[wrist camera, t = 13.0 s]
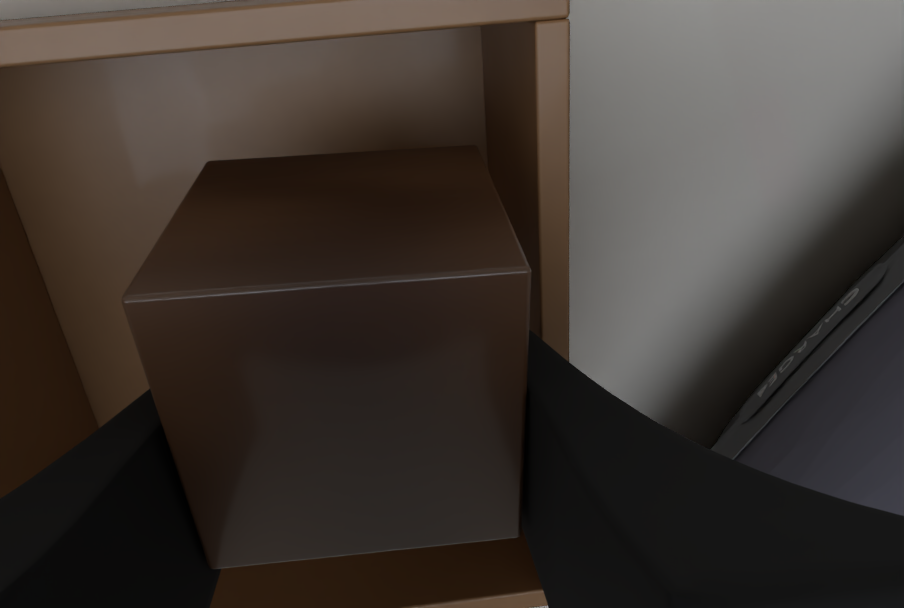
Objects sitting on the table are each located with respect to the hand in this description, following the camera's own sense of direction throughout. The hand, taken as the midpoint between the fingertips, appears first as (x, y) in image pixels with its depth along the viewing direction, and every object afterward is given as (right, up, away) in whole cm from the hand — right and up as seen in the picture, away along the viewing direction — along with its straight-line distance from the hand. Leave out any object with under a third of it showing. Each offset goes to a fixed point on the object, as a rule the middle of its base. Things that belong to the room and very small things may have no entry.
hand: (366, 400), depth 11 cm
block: (0, +2, +1) cm, 2 cm away
